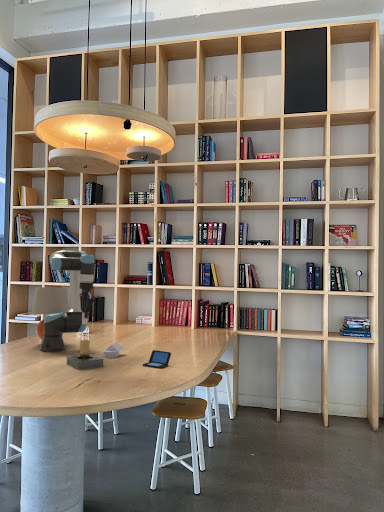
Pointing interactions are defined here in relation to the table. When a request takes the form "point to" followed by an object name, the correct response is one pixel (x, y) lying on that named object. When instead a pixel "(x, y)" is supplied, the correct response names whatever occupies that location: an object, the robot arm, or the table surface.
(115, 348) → the wedge on round base
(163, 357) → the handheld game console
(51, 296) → the lamp
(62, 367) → the table surface
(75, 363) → the jig block
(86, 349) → the golden brown cylinder
